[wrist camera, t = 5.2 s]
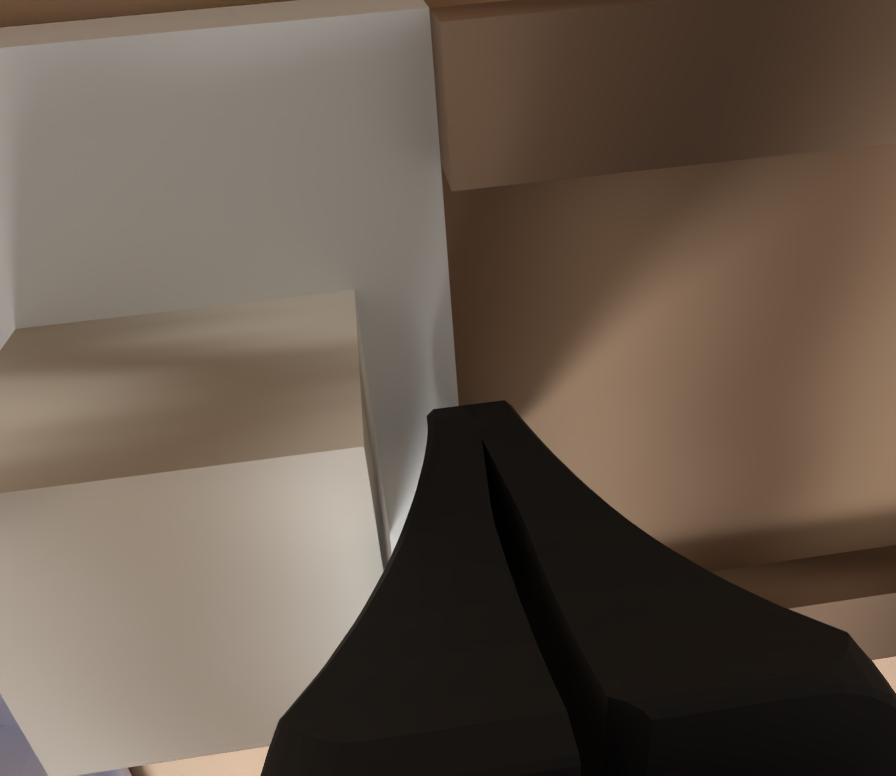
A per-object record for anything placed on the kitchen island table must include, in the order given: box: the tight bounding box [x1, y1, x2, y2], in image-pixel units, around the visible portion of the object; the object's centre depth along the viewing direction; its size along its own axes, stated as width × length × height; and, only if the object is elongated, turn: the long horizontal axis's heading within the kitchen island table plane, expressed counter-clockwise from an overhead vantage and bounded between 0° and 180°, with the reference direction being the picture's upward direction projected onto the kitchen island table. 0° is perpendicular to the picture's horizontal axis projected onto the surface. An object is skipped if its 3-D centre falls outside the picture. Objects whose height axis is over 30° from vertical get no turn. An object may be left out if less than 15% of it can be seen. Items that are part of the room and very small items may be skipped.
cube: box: [0, 290, 392, 776], centre depth 12 cm, size 5×5×4 cm
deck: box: [0, 0, 896, 660], centre depth 14 cm, size 26×13×3 cm, turn 94°
